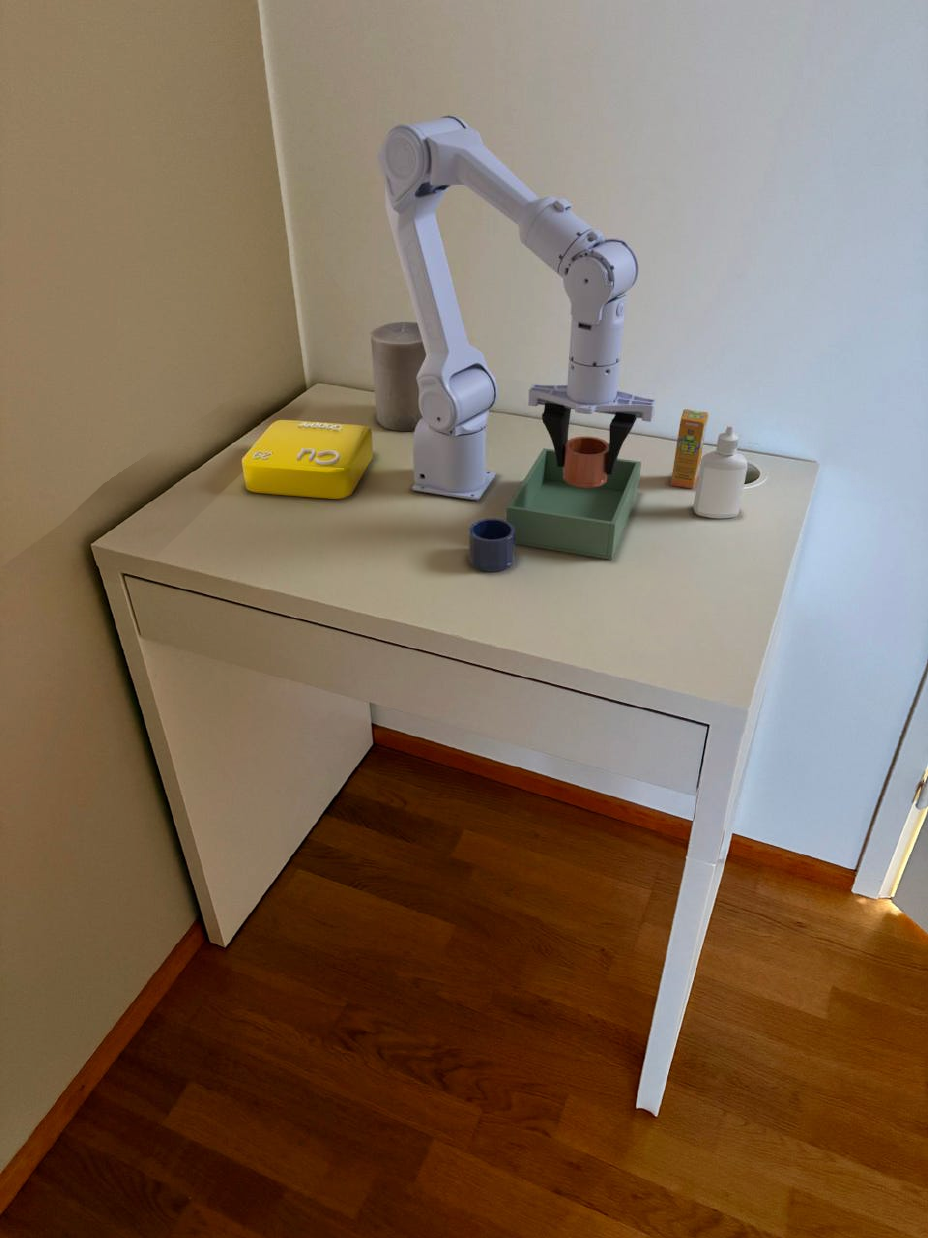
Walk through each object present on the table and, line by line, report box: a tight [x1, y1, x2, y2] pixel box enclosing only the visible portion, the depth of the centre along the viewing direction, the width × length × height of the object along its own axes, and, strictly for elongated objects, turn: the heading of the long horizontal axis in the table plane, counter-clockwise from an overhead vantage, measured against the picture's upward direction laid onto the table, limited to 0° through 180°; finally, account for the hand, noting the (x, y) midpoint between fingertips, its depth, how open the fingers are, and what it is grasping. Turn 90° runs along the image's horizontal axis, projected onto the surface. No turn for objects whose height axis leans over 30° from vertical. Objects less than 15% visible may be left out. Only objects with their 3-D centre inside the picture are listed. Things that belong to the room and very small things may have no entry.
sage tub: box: [505, 447, 642, 561], centre depth 116 cm, size 13×17×5 cm
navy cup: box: [468, 517, 516, 573], centre depth 108 cm, size 5×5×4 cm
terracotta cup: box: [563, 436, 609, 488], centre depth 110 cm, size 5×5×4 cm
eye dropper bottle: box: [693, 424, 748, 519], centre depth 115 cm, size 4×6×12 cm
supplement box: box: [670, 408, 709, 489], centre depth 122 cm, size 3×3×10 cm
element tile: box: [241, 419, 374, 500], centre depth 127 cm, size 15×15×5 cm
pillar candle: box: [369, 321, 426, 432], centre depth 139 cm, size 10×10×15 cm
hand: (585, 467), depth 111 cm, fingers closed on terracotta cup, 5 cm apart
